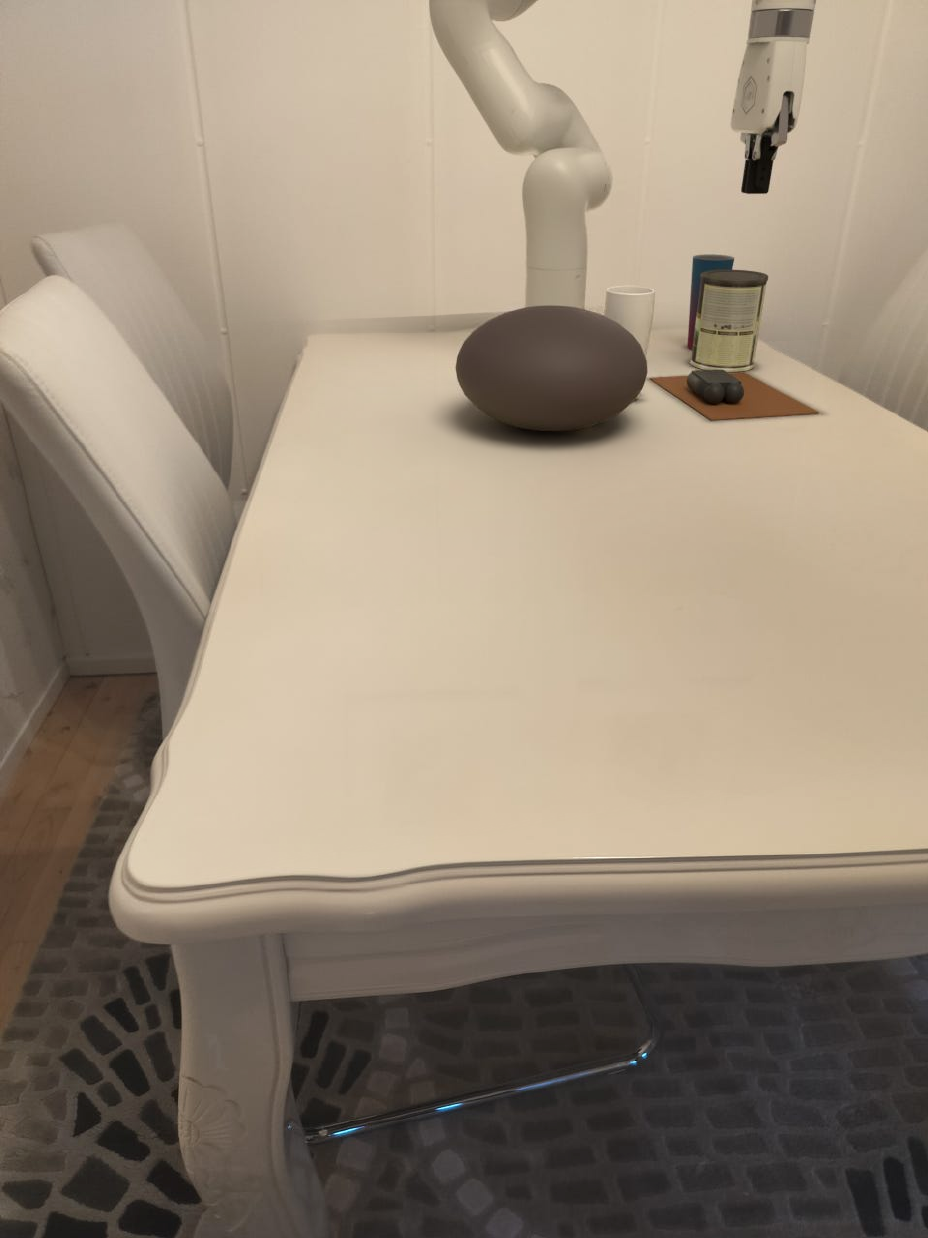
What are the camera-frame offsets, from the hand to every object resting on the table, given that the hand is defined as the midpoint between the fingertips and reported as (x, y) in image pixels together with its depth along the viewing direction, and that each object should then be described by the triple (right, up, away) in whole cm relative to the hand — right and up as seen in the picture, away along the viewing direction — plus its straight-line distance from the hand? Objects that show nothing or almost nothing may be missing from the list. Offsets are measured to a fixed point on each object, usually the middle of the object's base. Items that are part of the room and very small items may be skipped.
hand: (754, 192), depth 119 cm
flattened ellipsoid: (-28, -32, -1) cm, 42 cm away
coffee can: (+3, -16, +27) cm, 31 cm away
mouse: (-3, -25, +10) cm, 27 cm away
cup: (+3, -10, +37) cm, 39 cm away
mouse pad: (0, -24, +11) cm, 27 cm away
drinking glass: (-16, -25, +10) cm, 32 cm away
